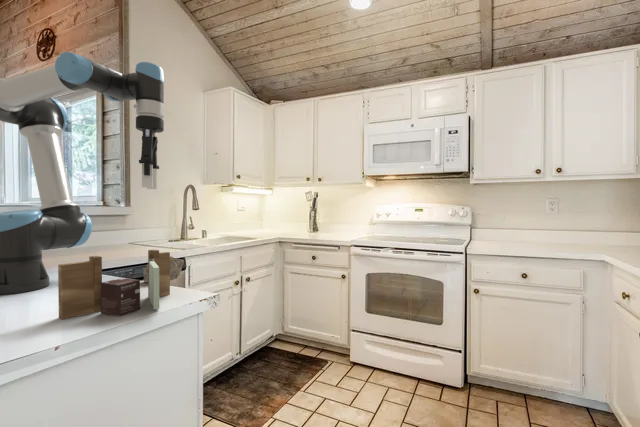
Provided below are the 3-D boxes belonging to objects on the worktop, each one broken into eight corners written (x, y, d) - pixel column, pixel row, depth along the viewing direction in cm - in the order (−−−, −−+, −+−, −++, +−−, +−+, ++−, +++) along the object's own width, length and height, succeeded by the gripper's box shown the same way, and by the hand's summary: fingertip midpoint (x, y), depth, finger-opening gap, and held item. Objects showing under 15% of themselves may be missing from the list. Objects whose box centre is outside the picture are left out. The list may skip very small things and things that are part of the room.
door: (148, 299, 92) (148, 258, 92) (153, 298, 93) (153, 258, 93) (153, 311, 82) (153, 265, 82) (159, 310, 83) (159, 265, 83)
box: (118, 317, 78) (118, 285, 78) (99, 313, 80) (99, 282, 80) (141, 309, 84) (140, 279, 84) (122, 306, 86) (122, 277, 86)
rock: (144, 281, 108) (153, 250, 111) (138, 281, 113) (148, 251, 116) (182, 288, 115) (190, 259, 118) (175, 287, 120) (183, 259, 123)
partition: (58, 317, 77) (57, 260, 77) (165, 293, 99) (165, 248, 99) (63, 319, 76) (62, 261, 76) (170, 294, 98) (170, 249, 97)
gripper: (141, 124, 113) (141, 189, 114) (129, 105, 90) (129, 186, 91) (166, 127, 116) (165, 189, 117) (160, 108, 93) (160, 187, 93)
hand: (149, 188), depth 104 cm, fingers open, 13 cm apart
